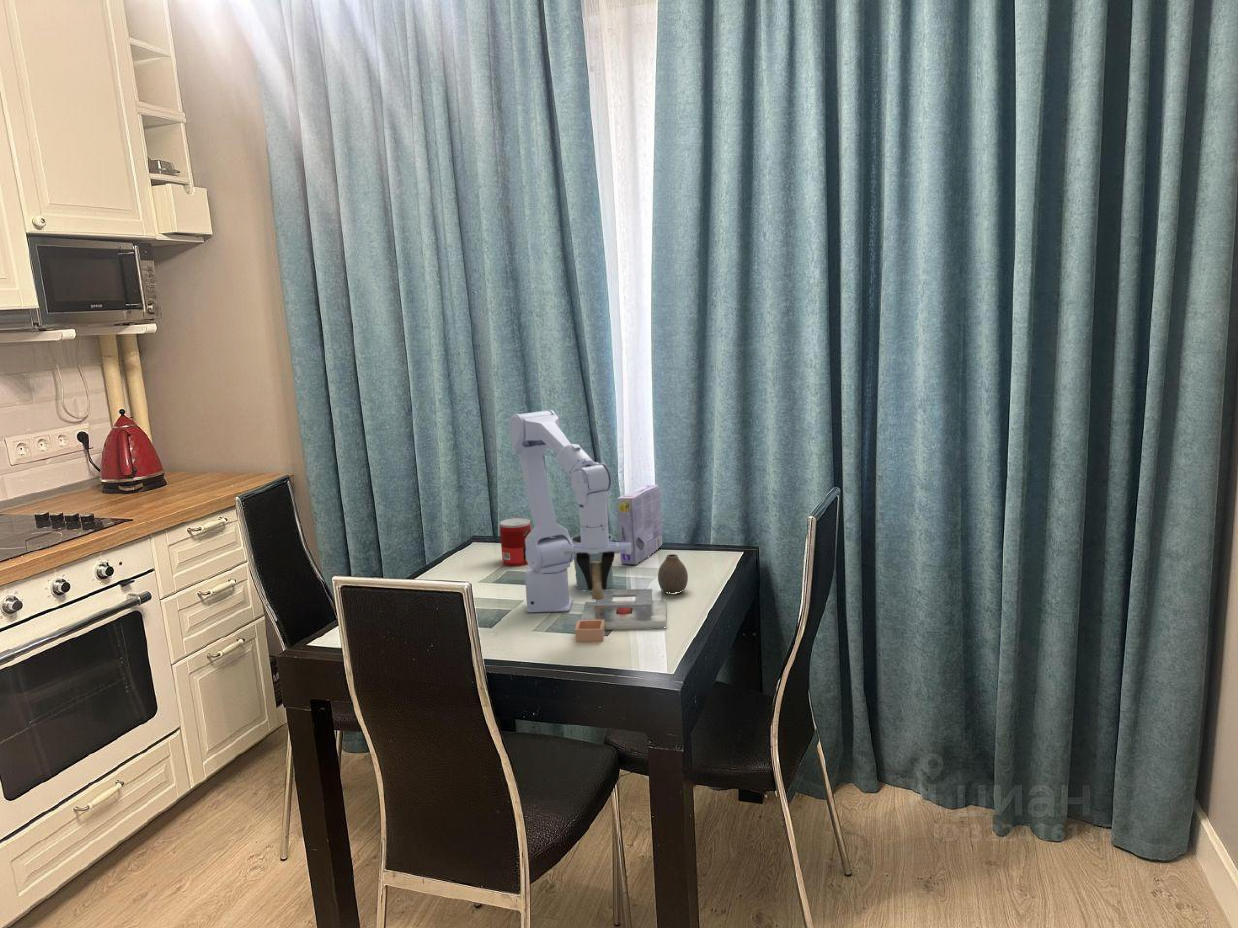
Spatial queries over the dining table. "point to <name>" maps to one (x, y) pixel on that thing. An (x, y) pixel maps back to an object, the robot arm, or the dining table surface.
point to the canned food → (514, 541)
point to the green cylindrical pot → (594, 557)
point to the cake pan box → (640, 523)
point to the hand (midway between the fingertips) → (597, 588)
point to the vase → (672, 575)
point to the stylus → (597, 580)
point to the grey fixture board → (642, 610)
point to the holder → (589, 630)
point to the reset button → (624, 610)
